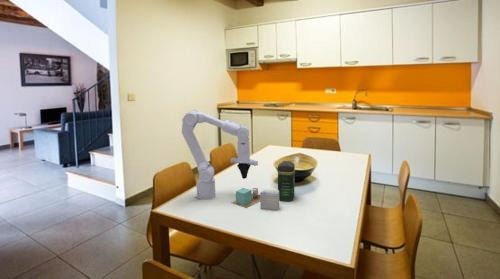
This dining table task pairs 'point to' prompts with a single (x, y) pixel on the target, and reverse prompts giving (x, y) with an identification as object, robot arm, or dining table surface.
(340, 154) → the dining table surface
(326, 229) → the dining table surface
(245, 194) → the teal foam brick
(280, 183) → the coffee jar
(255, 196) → the round post
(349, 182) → the dining table surface
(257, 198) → the stand plate
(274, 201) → the medicine box
